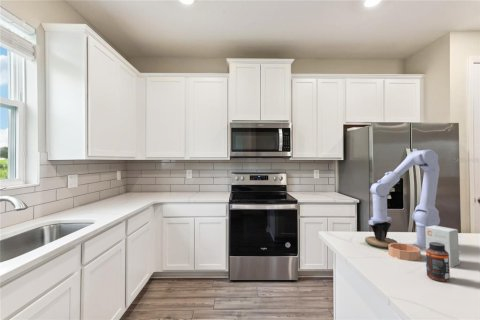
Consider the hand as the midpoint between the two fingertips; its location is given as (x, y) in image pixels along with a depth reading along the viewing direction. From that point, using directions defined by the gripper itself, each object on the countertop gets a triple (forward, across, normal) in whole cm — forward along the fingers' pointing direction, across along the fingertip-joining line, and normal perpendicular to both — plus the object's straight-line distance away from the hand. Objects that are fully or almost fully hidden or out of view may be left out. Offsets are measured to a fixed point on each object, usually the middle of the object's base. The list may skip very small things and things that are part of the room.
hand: (380, 238), depth 114 cm
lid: (+2, 0, 0) cm, 2 cm away
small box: (+4, -1, +23) cm, 23 cm away
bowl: (+3, +5, +12) cm, 14 cm away
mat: (+3, 0, 0) cm, 3 cm away
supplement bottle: (+3, +16, +28) cm, 33 cm away
